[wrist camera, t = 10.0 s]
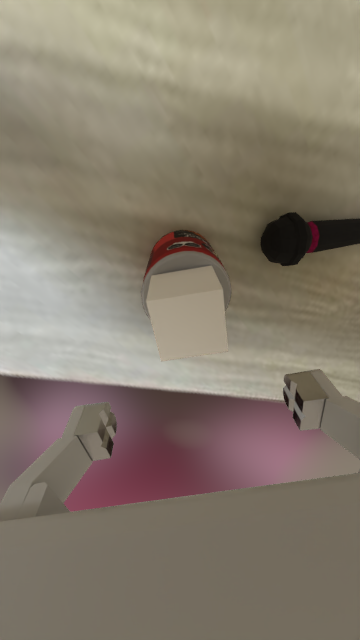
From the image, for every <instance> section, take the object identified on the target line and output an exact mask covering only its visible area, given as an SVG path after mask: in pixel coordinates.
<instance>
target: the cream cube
mask: <svg viewBox="0 0 360 640" xmlns="http://www.w3.org/2000/svg"><path fill="white" fill-rule="evenodd" d="M146 303H147V307H148V311H149V315H150V319H151V323H152V327H153V331H154V335H155V339H156V343H157V347H158V351H159V354H160V358H161V361H167V360H174V359H181V358H187V357H194V356H201V355H208V354H214V353H221V352H228V344H227V332H226V319H225V307H224V295H223V288H222V286H221V284H220V282H219V280H218V277H217V275H216V273H215V271H214V269H213V267H212V265H211V266H205V267H199V268H193V269H187V270H181V271H175V272H169V273H163V274H157V275H151V279H150V284H149V289H148V294H147V299H146Z"/></svg>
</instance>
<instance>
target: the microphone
mask: <svg viewBox="0 0 360 640" xmlns="http://www.w3.org/2000/svg"><path fill="white" fill-rule="evenodd" d="M359 243H360V219H344V220H326V221H311V222H308V223H307V222H305V221H304V219H302V218H301V217H300V216H299V215H298V214H297V213H296V212H295V213H287V214H285V215H282V216H280V217H279V219H278V220H275V221H273V222H271V223H270V224H268V225H267V227H266V229H265V231H264V232H263V235H262V237H261V248H262V251H263V253H264V254H265V256H266V257H267V258H268V260H269V261H271V262H274V263H280V264H281V265H282V266H290V265H296V264H298V262H299V261H300V260H301V258H303V257H304V255H305V254H306V253H312V252H318V251H323V250H328V249H333V248H338V247H344V246H349V245H354V244H359Z"/></svg>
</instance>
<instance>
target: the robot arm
mask: <svg viewBox="0 0 360 640" xmlns="http://www.w3.org/2000/svg"><path fill="white" fill-rule="evenodd" d="M284 382H285V384H286V386H285V387H284V388H283V395H284V400H285V403H286V405H287V407H288V409H289V410H291V411H293V419H294V420H295V422H296V424H297V426H298V428H299V430H309V429H318V428H320V430H322V431H323V432H324V433H326V434H327V435H328V436H329V437H331V438H332V439H333V440H335V441H336V442H337V443H339V444H340V445H341V446H342V447H344V448H345V449H346V450H348V451H349V452H351V453H352V454H353V455H354V456H355V457H357V458H358V459H359V460H360V403H359V402H357V401H355V400H353V399H351V398H349V397H347V396H342V395H341V394H340V392H339V391H338V390H337V389H336V387H335V386H334V385H333V384H332V383H331V381H330V380H329V379H328V378H327V376H326V375H325V374H324V373H323V371H322V370H320V369H317V370H310V371H304V372H298V373H292V374H286V375H285V376H284ZM110 409H111V406H110V404H109V403H108V402H104V403H96V404H88V405H82V406H76V407H75V408H74V409H73V411H72V413H71V416H70V418H69V421H68V423H67V426H66V428H65V431H64V433H63V435H62V438H60V439H57V440H56V441H55V442H54V443H53V444H52V445H51V446H50V447H49V448H48V449H47V450H46V451H45V452H44V453H43V454H42V455H41V456H40V457H39V458H38V459H37V460H36V461H35V462H34V463H33V464H32V465H31V466H30V467H29V468H28V469H27V470H25V472H23V473H22V474H21V475H20V476H19V477H18V478H17V479H16V480H15V481H14V482H13V483H12V484H11V485H10V486H9V488H8V490H7V492H6V494H5V496H4V498H3V500H2V502H1V504H0V640H360V470H359V472H358V473H354V474H347V475H340V476H333V477H325V478H317V479H311V480H303V481H296V482H288V483H280V484H273V485H266V486H258V487H251V488H243V489H236V490H229V491H222V492H214V493H207V494H199V495H192V496H185V497H177V498H170V499H163V500H155V501H149V502H141V503H133V504H126V505H118V506H111V507H104V508H97V509H89V510H82V511H74V512H70V511H69V510H68V509H67V507H66V506H65V505H64V504H63V503H64V502H65V500H66V499H67V497H68V496H69V495H70V493H71V492H72V490H73V489H74V488H75V486H76V485H77V483H78V482H79V480H80V479H81V477H82V476H83V475H84V473H85V472H86V471H87V469H88V468H89V466H90V465H91V463H92V461H95V460H101V459H107V458H111V455H112V449H113V445H114V443H113V441H112V438H113V437H114V436H115V434H116V428H117V422H116V417H115V415H114V414H113V413H112V412H110Z"/></svg>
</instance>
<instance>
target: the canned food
mask: <svg viewBox="0 0 360 640" xmlns="http://www.w3.org/2000/svg"><path fill="white" fill-rule="evenodd" d="M211 265H212V267H213V269H214V271H215V273H216V275H217V277H218V280H219V282H220V284H221V286H222V288H223V295H224V307H225V311H226V309H227V307H228V305H229V302H230V298H231V284H230V280H229V277H228V274H227V272H226V270H225V268H224V267H223V265H222V263H221V261H220V260H219V258H218V257H217V255H216V253H215V252H214V250H213V249H212V247H211V245H210V244H209V242H208V241H207V240H206V239H205V238H204V237H202V236H201V235H200V234H198V233H195V232H192V231H188V230H180V231H175V232H172V233H169V234H167V235H165V236H164V237H163V238H161V239H160V240H159V241H158V242H157V243H156V245H155V246H154V248H153V250H152V252H151V255H150V259H149V262H148V266H147V269H146V273H145V276H144V280H143V285H142V290H141V295H142V304H143V308H144V310H145V312H146V314H147V316H148V317H149V319H150V315H149V311H148V307H147V303H146V299H147V294H148V289H149V284H150V279H151V275H157V274H163V273H169V272H175V271H181V270H187V269H193V268H199V267H205V266H211ZM150 320H151V319H150Z"/></svg>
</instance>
